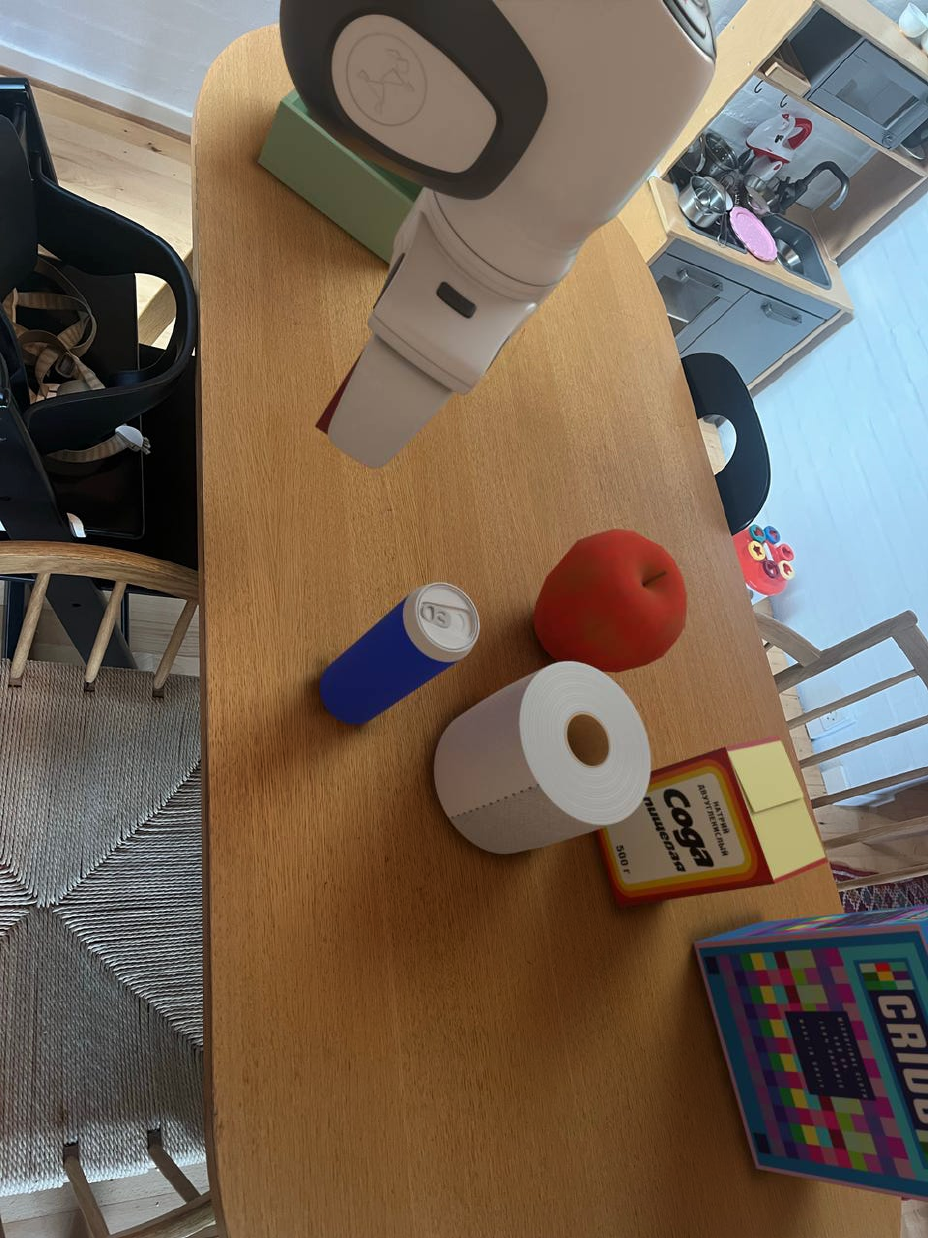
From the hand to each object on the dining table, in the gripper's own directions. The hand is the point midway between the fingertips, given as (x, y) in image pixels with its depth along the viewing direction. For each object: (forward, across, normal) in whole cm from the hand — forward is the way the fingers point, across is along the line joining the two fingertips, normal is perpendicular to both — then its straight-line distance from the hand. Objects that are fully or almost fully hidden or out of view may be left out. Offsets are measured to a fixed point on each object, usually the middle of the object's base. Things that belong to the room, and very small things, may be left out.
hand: (372, 406), depth 54 cm
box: (+13, +23, +55) cm, 61 cm away
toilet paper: (+12, +14, +24) cm, 30 cm away
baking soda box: (+13, +13, +38) cm, 42 cm away
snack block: (+2, 0, 0) cm, 3 cm away
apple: (+12, -2, +26) cm, 29 cm away
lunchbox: (+12, -38, -12) cm, 42 cm away
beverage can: (+12, +14, +10) cm, 21 cm away
